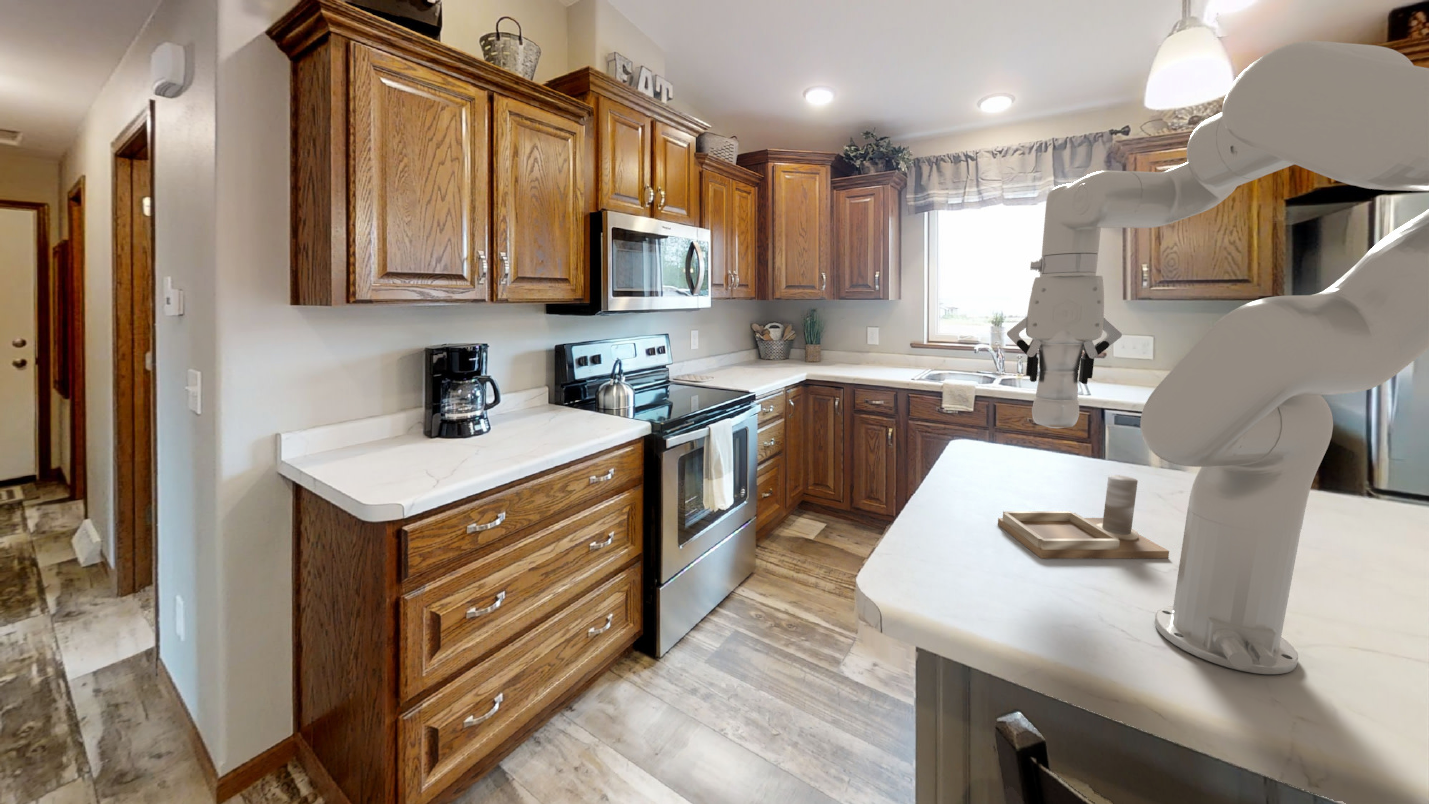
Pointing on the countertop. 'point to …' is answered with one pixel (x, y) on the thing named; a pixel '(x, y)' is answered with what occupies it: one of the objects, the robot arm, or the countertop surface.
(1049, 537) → the board
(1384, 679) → the countertop surface
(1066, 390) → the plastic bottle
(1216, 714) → the countertop surface
